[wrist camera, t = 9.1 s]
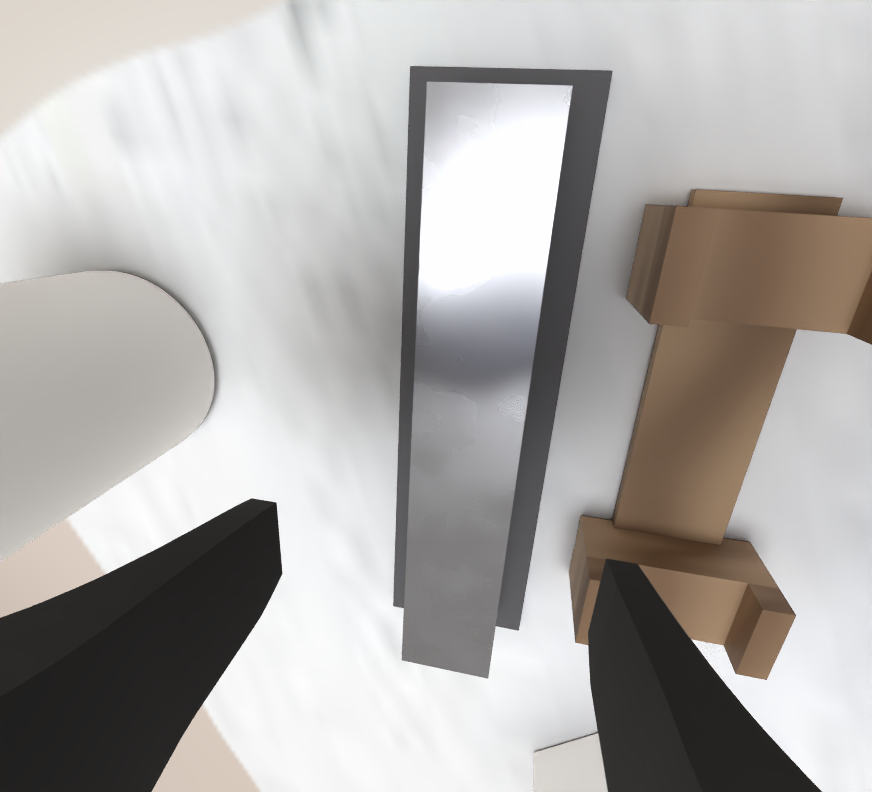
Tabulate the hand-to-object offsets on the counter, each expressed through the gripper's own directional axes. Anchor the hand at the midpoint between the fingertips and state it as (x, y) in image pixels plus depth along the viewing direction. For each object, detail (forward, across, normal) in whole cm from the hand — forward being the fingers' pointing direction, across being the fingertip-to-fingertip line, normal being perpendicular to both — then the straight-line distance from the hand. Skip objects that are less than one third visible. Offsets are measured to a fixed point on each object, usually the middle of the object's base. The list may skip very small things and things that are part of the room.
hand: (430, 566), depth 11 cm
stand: (+9, -8, 0) cm, 12 cm away
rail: (+9, 0, 0) cm, 9 cm away
